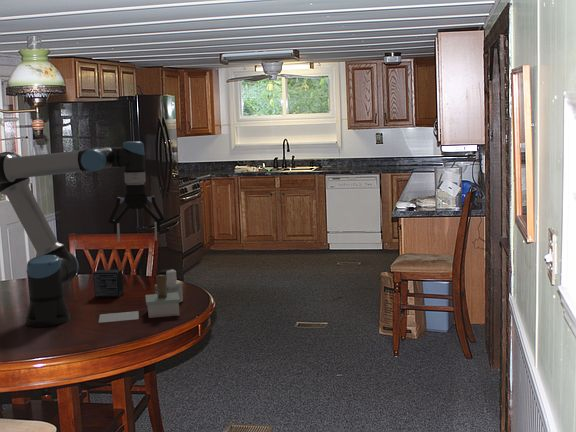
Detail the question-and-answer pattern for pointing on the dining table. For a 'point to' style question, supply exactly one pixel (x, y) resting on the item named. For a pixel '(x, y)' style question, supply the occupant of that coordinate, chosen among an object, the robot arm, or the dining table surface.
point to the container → (171, 283)
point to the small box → (108, 283)
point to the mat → (118, 316)
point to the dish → (163, 310)
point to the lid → (162, 294)
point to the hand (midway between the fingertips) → (137, 241)
